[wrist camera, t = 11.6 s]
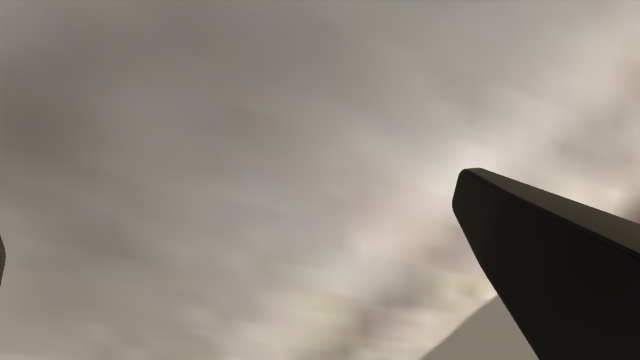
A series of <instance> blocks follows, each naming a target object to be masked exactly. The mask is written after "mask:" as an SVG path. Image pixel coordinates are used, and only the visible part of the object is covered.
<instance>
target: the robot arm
mask: <svg viewBox="0 0 640 360" xmlns="http://www.w3.org/2000/svg"><path fill="white" fill-rule="evenodd" d="M452 208H453V212H454V214H455V216H456V218H457V220H458V222H459V224H460V226H461V228H462V230H463V232H464V234H465V236H466V238H467V240H468V242H469V244H470V246H471V249H472V251H473V253H474V255H475V257H476V259H477V260H478V262H479V264H480V266H481V268H482V270H483V271H484V273H485V275H486V276H487V278H488V279H489V281H490V283H491V284H492V286H493V287H494V289H495V290H496V292H497V294H498V295H499V297H500V298H501V300H502V302H503V303H504V305H505V306H506V308H507V309H508V311H509V312H510V314H511V316H512V317H513V319H514V321H515V322H516V324H517V325H518V327H519V328H520V330H521V332H522V333H523V335H524V336H525V338H526V340H527V341H528V343H529V344H530V346H531V347H532V349H533V351H534V352H535V354H536V355H537V357H538V359H539V360H640V224H638V223H635V222H633V221H630V220H627V219H624V218H621V217H618V216H616V215H613V214H610V213H607V212H604V211H601V210H599V209H596V208H593V207H590V206H587V205H584V204H582V203H579V202H576V201H573V200H570V199H567V198H565V197H562V196H559V195H556V194H553V193H550V192H547V191H545V190H542V189H539V188H536V187H533V186H530V185H528V184H525V183H522V182H519V181H516V180H513V179H511V178H508V177H505V176H502V175H499V174H496V173H494V172H491V171H488V170H485V169H482V168H469V169H463V170H462V171H461V172H460V173H459V176H458V180H457V184H456V188H455V192H454V196H453V200H452ZM5 260H6V253H5V248H4V244H3V242H2V239H1V236H0V285H1V280H2V275H3V270H4V266H5Z"/></svg>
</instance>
